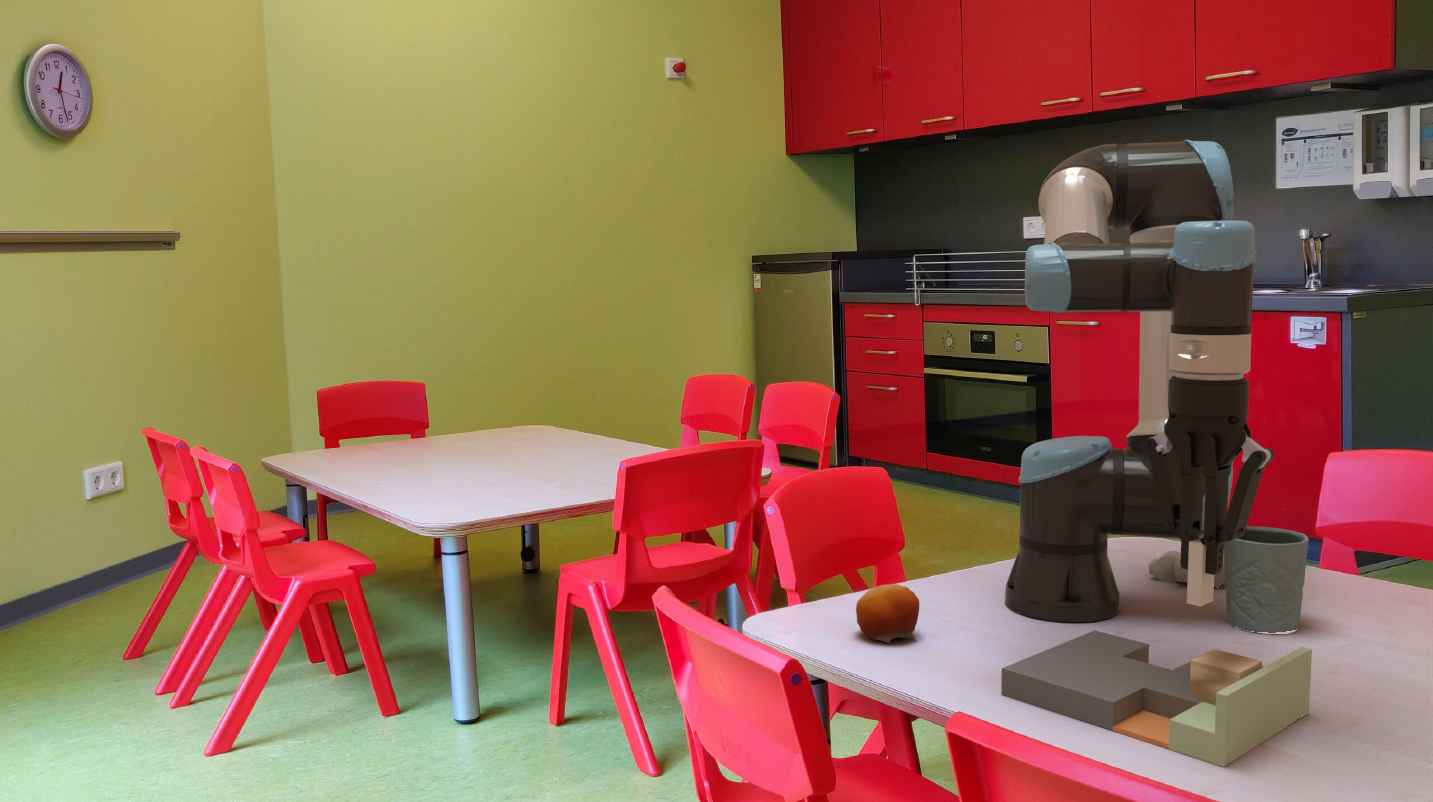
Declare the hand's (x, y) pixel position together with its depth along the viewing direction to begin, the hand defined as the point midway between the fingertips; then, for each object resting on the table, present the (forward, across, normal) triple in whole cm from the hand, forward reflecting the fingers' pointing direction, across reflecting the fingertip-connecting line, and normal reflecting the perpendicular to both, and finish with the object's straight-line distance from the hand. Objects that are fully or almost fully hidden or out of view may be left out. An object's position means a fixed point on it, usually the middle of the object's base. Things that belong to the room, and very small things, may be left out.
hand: (1200, 601), depth 119 cm
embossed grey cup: (+13, -9, +35) cm, 39 cm away
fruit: (+13, -39, -4) cm, 41 cm away
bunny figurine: (+13, -23, +48) cm, 55 cm away
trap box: (+12, -5, 0) cm, 13 cm away
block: (+9, +3, 0) cm, 10 cm away
